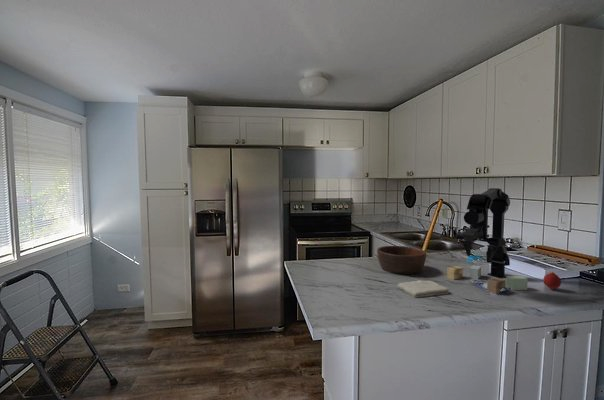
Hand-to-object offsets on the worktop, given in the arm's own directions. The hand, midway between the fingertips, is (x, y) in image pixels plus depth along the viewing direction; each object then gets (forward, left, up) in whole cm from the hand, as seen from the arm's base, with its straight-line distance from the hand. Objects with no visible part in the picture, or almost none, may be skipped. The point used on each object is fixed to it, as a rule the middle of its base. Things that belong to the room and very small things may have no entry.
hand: (478, 258), depth 127 cm
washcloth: (+25, -8, -14) cm, 30 cm away
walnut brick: (-2, +6, -13) cm, 15 cm away
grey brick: (-14, -10, -13) cm, 22 cm away
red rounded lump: (-26, +16, -13) cm, 34 cm away
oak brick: (-4, -14, -13) cm, 19 cm away
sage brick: (-14, +8, -13) cm, 21 cm away
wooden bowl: (+8, -37, -13) cm, 40 cm away
